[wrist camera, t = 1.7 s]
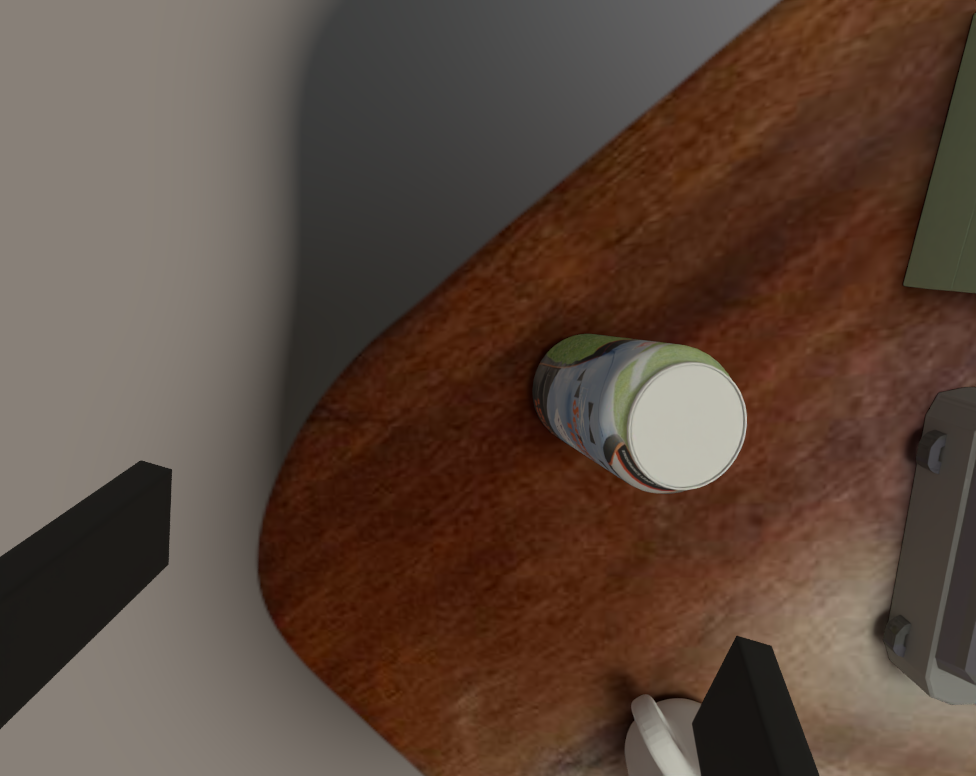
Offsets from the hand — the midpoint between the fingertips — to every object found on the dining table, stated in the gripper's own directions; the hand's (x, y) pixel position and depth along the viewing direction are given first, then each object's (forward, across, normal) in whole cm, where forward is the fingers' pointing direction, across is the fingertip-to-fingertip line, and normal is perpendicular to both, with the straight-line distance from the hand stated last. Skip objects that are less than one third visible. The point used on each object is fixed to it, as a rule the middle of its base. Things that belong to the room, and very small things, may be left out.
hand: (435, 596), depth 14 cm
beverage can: (+22, +4, -1) cm, 22 cm away
